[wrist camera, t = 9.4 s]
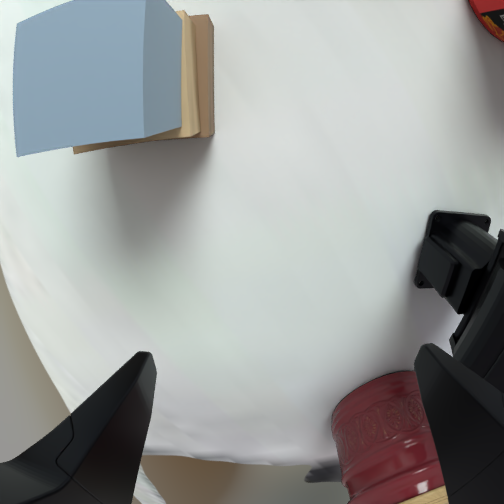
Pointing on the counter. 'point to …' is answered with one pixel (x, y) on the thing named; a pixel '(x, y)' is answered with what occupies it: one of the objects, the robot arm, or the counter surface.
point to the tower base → (204, 74)
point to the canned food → (490, 15)
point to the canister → (387, 444)
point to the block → (96, 74)
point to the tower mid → (188, 95)
